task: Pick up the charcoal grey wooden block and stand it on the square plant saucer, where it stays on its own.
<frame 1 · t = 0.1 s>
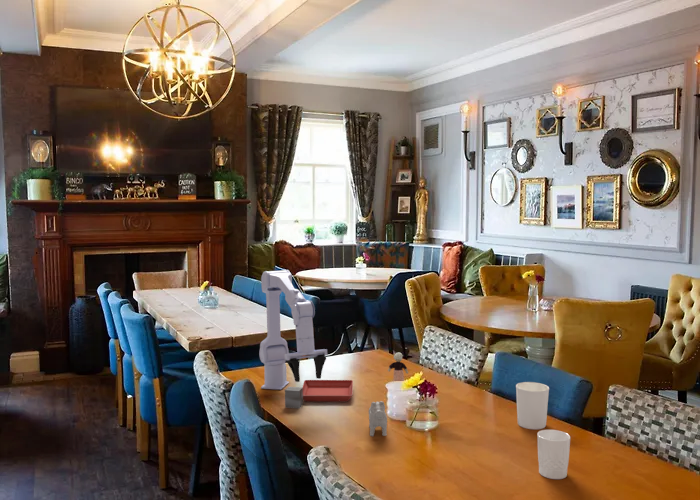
hand: (308, 380, 205), 10 cm above the table, tool pointing down, fingers open, 7 cm apart
grandmother figurine: (398, 386, 234), on the table
white cup: (552, 474, 158), on the table
charcoal block: (294, 406, 212), on the table
dog figurine: (378, 433, 187), on the table
plant saucer: (327, 396, 224), on the table
candle holder: (531, 425, 193), on the table
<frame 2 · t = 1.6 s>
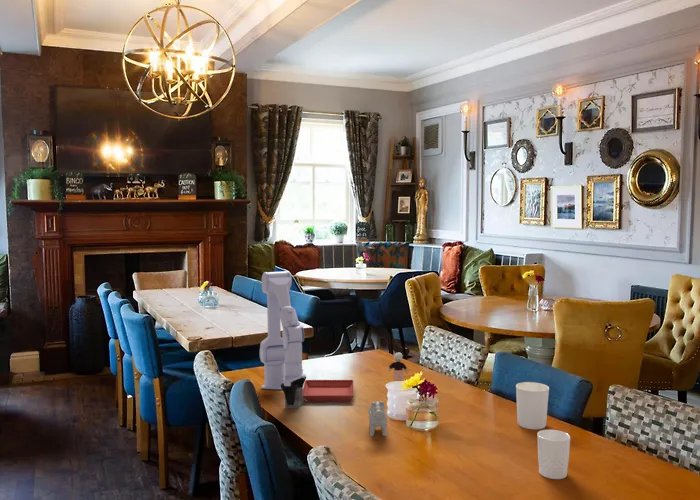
hand: (294, 401, 212), 2 cm above the table, tool pointing down, fingers open, 7 cm apart
plant saucer: (328, 396, 224), on the table, touching gripper
everything else where it was.
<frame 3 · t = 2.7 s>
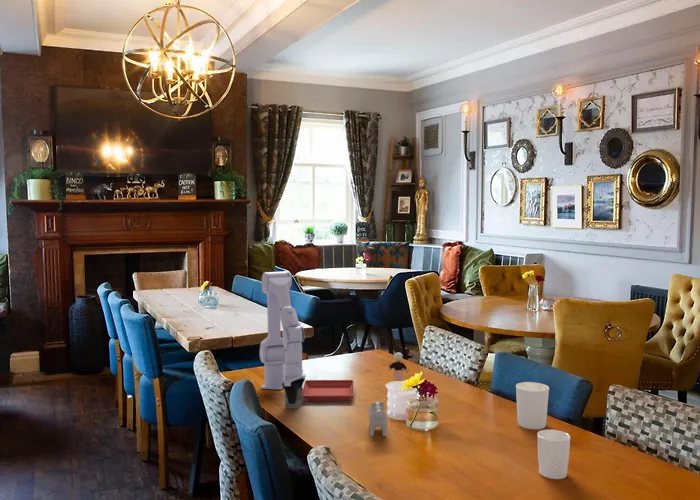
hand: (294, 401, 212), 2 cm above the table, tool pointing down, fingers closed on charcoal block, 4 cm apart
charcoal block: (294, 406, 212), on the table, touching gripper
plant saucer: (328, 396, 224), on the table
everything else where it was.
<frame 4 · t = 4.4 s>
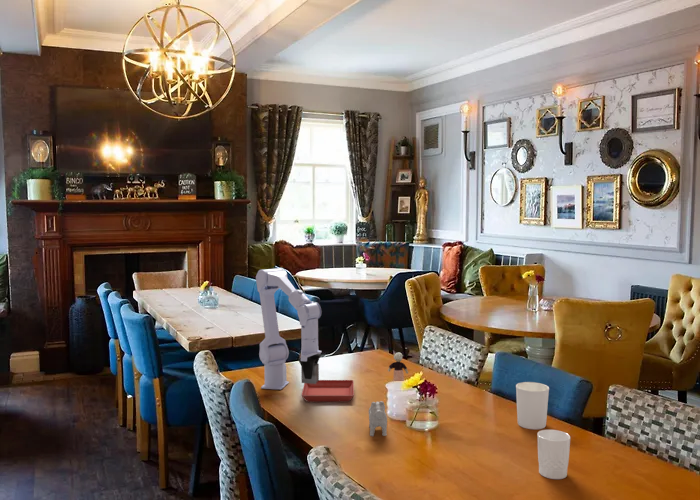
hand: (310, 376, 217), 8 cm above the table, tool pointing down, fingers closed on charcoal block, 4 cm apart
charcoal block: (310, 381, 217), point 7 cm above the table, touching gripper
everything else where it was.
when the fingers open (5 cm above the table, at t = 6.3 s): charcoal block stays where it is, resting on plant saucer.
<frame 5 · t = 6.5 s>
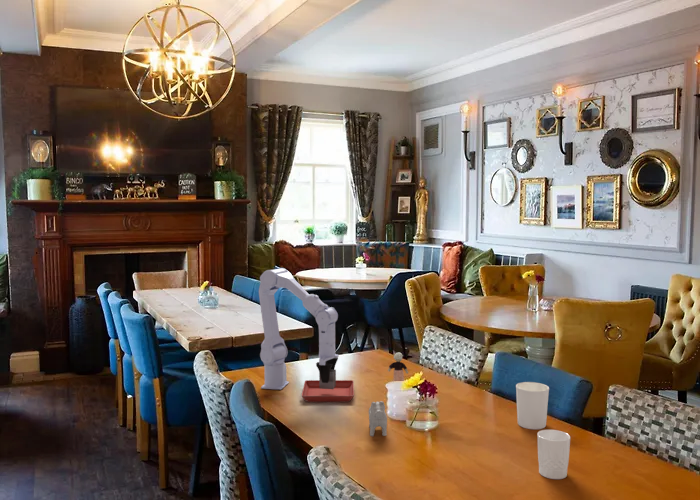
hand: (327, 380, 223), 5 cm above the table, tool pointing down, fingers open, 6 cm apart
charcoal block: (327, 387, 223), point 3 cm above the table, touching plant saucer
plant saucer: (328, 397, 224), on the table, touching charcoal block
everything else where it was.
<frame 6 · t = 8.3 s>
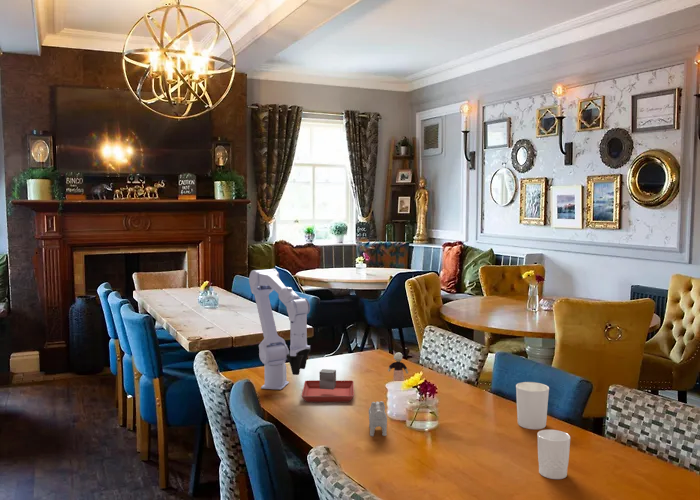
hand: (298, 371, 220), 9 cm above the table, tool pointing down, fingers open, 7 cm apart
nothing on the table moved.
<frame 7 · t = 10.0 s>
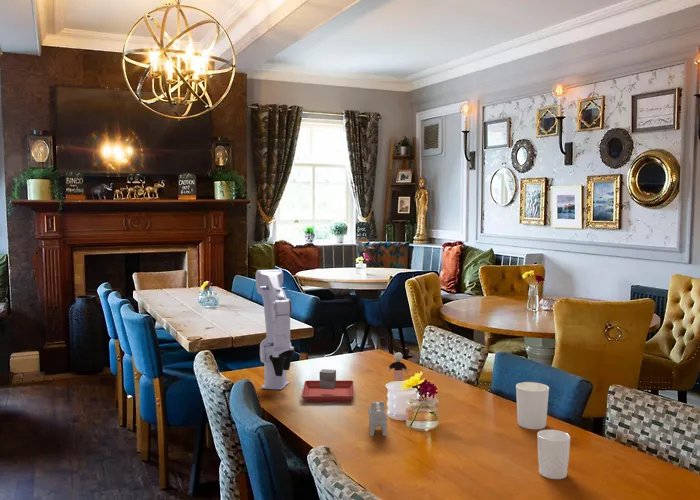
hand: (282, 372, 218), 9 cm above the table, tool pointing down, fingers open, 7 cm apart
nothing on the table moved.
at the end: charcoal block inside the target area in the plant saucer (0.2 cm from its centre), point 3.5 cm above the plant saucer's base; charcoal block touching plant saucer; charcoal block tilted 0° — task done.
